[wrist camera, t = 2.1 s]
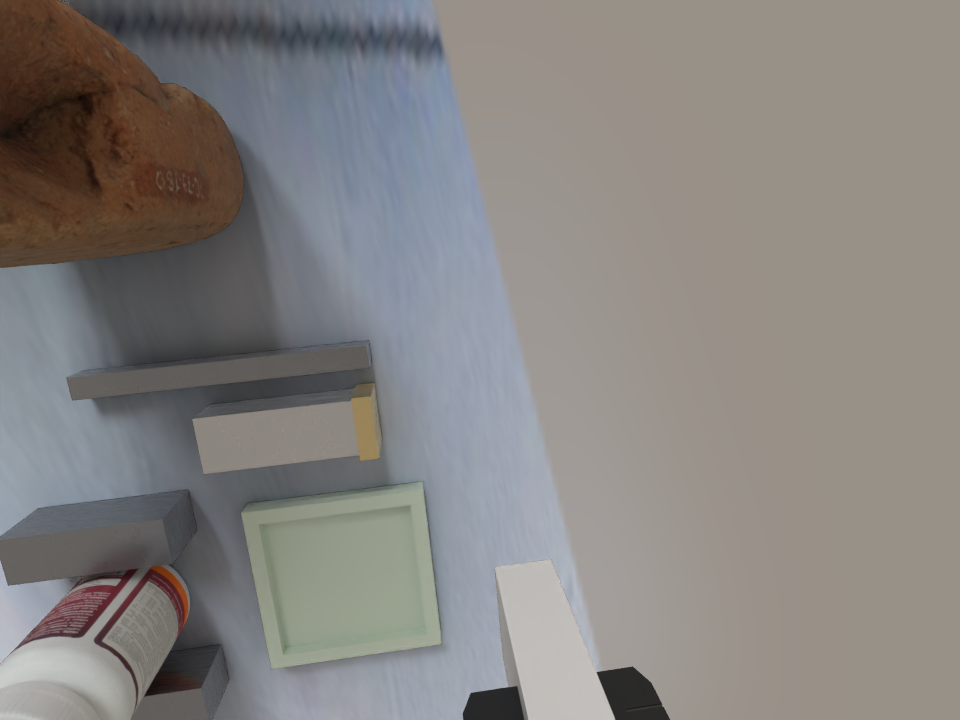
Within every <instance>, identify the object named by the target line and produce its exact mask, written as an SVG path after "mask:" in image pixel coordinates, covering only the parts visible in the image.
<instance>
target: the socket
mask: <svg viewBox="0 0 960 720" xmlns="http://www.w3.org/2000/svg"><path fill="white" fill-rule="evenodd" d="M196 531H197V528H196V523H195V519H194V514H193V509H192V505H191V500H190V495H189V491H188V490H183V491H175V492H167V493H159V494H150V495H142V496H134V497H126V498H118V499H110V500H102V501H93V502H85V503H77V504H69V505H61V506H53V507H45V508H38V509H37V510H35V511H34V512H33V513H31V514H30V515H29V516H27V517H26V518H25V519H23V520H22V521H20V522H19V523H18V524H16V525H15V526H14V527H12V528H11V529H10V530H8V531H7V532H6V533H4V534H3V535H1V536H0V560H1V564H2V567H3V570H4V574H5V577H6V580H7V584H8V586H9V585H16V584H24V583H32V582H39V581H47V580H54V579H62V578H70V577H77V576H85V575H92V574H100V573H107V572H115V571H123V570H130V569H138V568H145V567H153V566H160V565H168V564H173V563H174V561H175V560H176V559H177V557H178V556H179V554H180V553H181V552H182V550H183V549H184V548H185V546H186V545H187V543H188V542H189V541H190V539H191V538H192V537H193V535H194V534H195V533H196ZM228 682H229V677H228V672H227V668H226V663H225V658H224V654H223V649H222V644H221V645H214V646H207V647H200V648H193V649H186V650H179V651H172V652H169V653H168V655H167V657H166V659H165V660H164V662H163V664H162V666H161V667H160V669H159V671H158V672H157V674H156V676H155V677H154V679H153V681H152V683H151V684H150V686H149V688H148V689H147V691H146V693H145V695H144V697H143V698H142V700H141V702H140V703H139V705H138V707H137V709H136V711H135V712H134V714H133V716H132V718H131V720H213V718H214V715H215V713H216V710H217V708H218V706H219V703H220V701H221V698H222V696H223V694H224V691H225V689H226V687H227V684H228Z"/></svg>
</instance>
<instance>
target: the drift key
mask: <svg viewBox="0 0 960 720" xmlns="http://www.w3.org/2000/svg"><path fill="white" fill-rule="evenodd" d="M192 421H193V426H194V431H195V435H196V440H197V445H198V450H199V455H200V460H201V464H202V469H203V474H209V473H218V472H226V471H234V470H242V469H251V468H259V467H267V466H275V465H284V464H292V463H300V462H309V461H317V460H325V459H333V458H342V457H350V456H358V455H359V458H360V461H364V460H372V459H379V456H380V450H381V444H382V435H381V427H380V420H379V412H378V405H377V397H376V390H375V383H367V384H358V385H356V387H355V388H353V389H345V390H336V391H327V392H318V393H309V394H300V395H291V396H282V397H273V398H264V399H255V400H247V401H238V402H229V403H220V404H211V405H208V406H207V407H206V408H204V409H203V410H202V411H201V412H200V413H199V414H197V415H196V416H195V417H194V418H193V419H192Z"/></svg>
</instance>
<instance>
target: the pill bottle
mask: <svg viewBox="0 0 960 720" xmlns="http://www.w3.org/2000/svg"><path fill="white" fill-rule="evenodd" d="M189 611H190V595H189V591H188V589H187V586H186V584H185V582H184V580H183V579H182V578H181V576H180V575H179V574H178V573H177V572H176V571H175V570H174V569H173V568H172V567H171V566H169V565H160V566H153V567H145V568H138V569H130V570H123V571H115V572H107V573H100V574H92V575H85V576H84V577H83V578H82V579H81V580H80V581H79V582H78V583H77V584H76V585H75V586H74V587H73V588H72V589H71V591H70V592H69V593H68V594H67V595H66V596H65V597H64V598H63V599H62V600H61V601H60V602H59V603H58V604H57V605H56V606H55V607H54V608H53V610H52V611H51V612H50V613H49V614H48V615H47V616H46V617H45V618H44V619H43V620H42V621H41V622H40V623H39V624H38V625H37V626H36V627H35V628H34V629H33V630H32V631H31V632H30V634H29V635H28V636H27V637H26V638H25V639H24V640H23V641H22V642H21V643H20V644H19V645H18V646H17V647H16V648H15V649H14V651H12V652H11V653H10V654H9V655H8V656H7V658H5V659H4V661H3V662H2V663H1V665H0V720H131V718H132V716H133V714H134V712H135V711H136V709H137V707H138V705H139V703H140V702H141V700H142V698H143V697H144V695H145V693H146V691H147V689H148V688H149V686H150V684H151V683H152V681H153V679H154V677H155V676H156V674H157V672H158V671H159V669H160V667H161V666H162V664H163V662H164V660H165V659H166V657H167V655H168V653H169V652H170V650H171V648H172V647H173V645H174V643H175V641H176V640H177V638H178V636H179V634H180V633H181V631H182V629H183V627H184V625H185V623H186V621H187V619H188V616H189Z"/></svg>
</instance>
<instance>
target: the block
mask: <svg viewBox="0 0 960 720" xmlns="http://www.w3.org/2000/svg"><path fill="white" fill-rule="evenodd" d="M243 188H244V175H243V171H242V167H241V162H240V158H239V155H238V152H237V149H236V147H235V144H234V142H233V139H232V136H231V134H230V132H229V130H228V128H227V126H226V124H225V122H224V120H223V119H222V117H221V116H220V115H219V113H218V112H217V111H216V110H215V109H214V108H213V107H212V106H211V105H210V104H209V103H208V102H206V101H205V100H203V99H202V98H200V97H199V96H197V95H195V94H193V93H192V92H191V91H189V90H188V89H186V88H184V87H180V86H179V85H177V84H172V83H164V84H161V83H160V82H159V80H158V78H157V77H156V76H155V75H154V74H153V72H152V71H151V70H150V69H149V68H148V67H147V66H146V65H145V64H144V63H143V61H142V60H141V59H140V58H139V57H138V56H136V55H134V54H132V53H131V52H130V51H129V50H128V49H127V48H126V47H125V46H123V45H122V44H121V43H120V42H119V41H118V40H117V39H116V38H115V37H114V36H112V35H111V34H109V33H108V32H106V31H105V30H103V29H102V28H100V27H99V26H97V25H96V24H94V23H93V22H92V21H90V20H88V19H87V18H85V17H84V16H82V15H81V14H79V13H78V12H76V11H75V10H74V9H72V8H71V7H69V6H68V5H66V4H64V3H62V2H60V1H59V0H0V268H5V267H16V266H26V265H38V264H56V263H64V262H71V261H79V260H90V259H98V258H106V257H114V256H122V255H129V254H136V253H143V252H150V251H156V250H163V249H168V248H172V247H175V246H180V245H184V244H189V243H191V242H194V241H197V240H200V239H206V238H208V237H211V236H213V235H215V234H216V233H217V232H219V231H221V230H222V229H224V228H226V227H227V226H228V225H229V224H230V223H231V222H232V220H233V219H234V218H235V216H236V215H237V213H238V211H239V208H240V205H241V202H242V199H243Z"/></svg>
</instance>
